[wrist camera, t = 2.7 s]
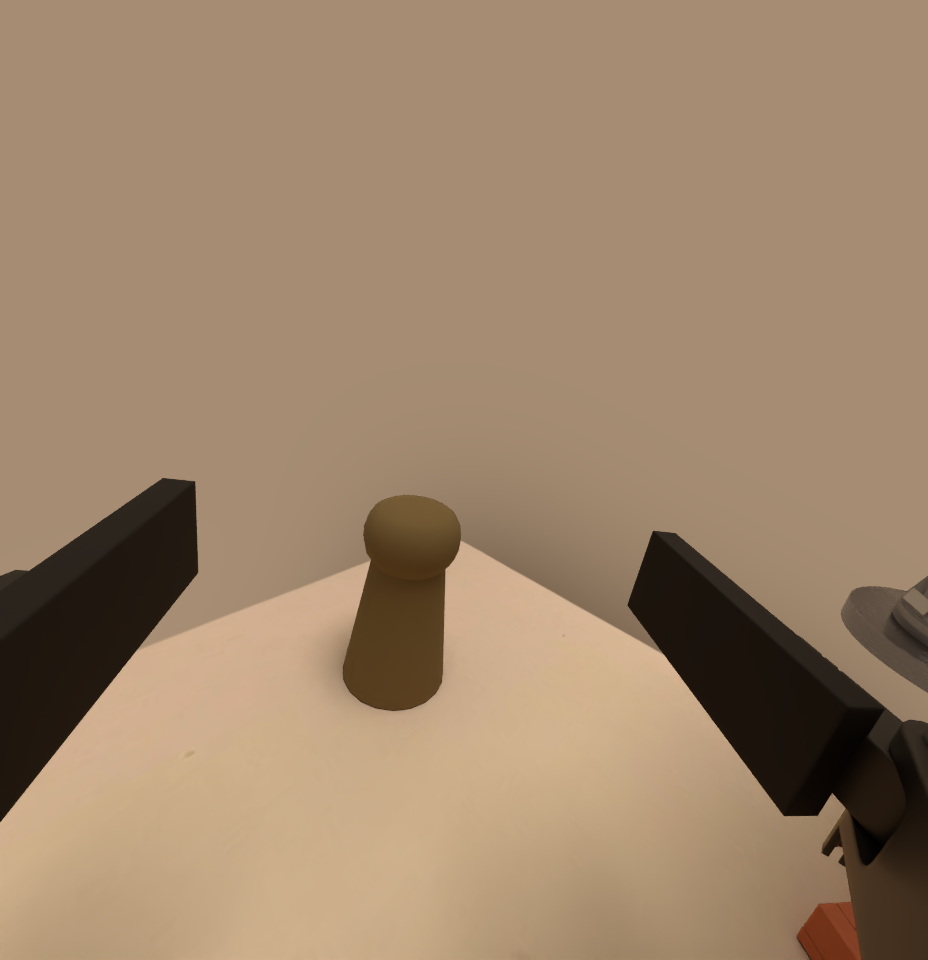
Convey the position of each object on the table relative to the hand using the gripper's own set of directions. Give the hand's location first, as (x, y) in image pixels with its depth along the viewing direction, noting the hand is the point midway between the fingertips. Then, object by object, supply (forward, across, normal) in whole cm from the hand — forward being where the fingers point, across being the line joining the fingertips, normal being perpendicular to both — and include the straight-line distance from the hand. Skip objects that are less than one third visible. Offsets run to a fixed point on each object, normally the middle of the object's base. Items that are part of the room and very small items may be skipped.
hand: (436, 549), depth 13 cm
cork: (+10, 0, -14) cm, 18 cm away
